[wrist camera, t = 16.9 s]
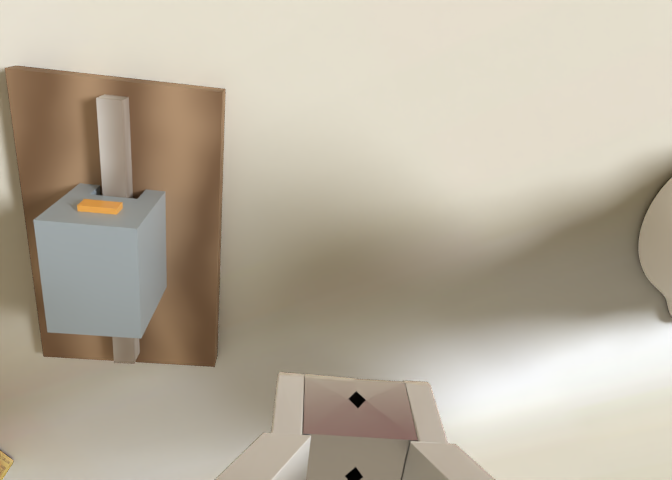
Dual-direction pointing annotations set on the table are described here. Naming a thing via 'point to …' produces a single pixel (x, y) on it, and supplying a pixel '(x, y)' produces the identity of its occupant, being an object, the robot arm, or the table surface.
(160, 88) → the rail board
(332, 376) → the robot arm
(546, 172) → the table surface
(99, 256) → the block
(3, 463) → the candy box
